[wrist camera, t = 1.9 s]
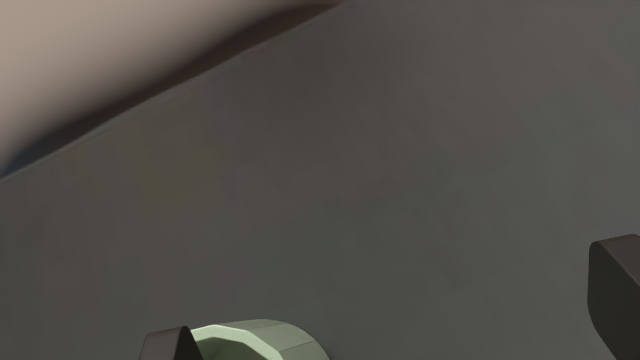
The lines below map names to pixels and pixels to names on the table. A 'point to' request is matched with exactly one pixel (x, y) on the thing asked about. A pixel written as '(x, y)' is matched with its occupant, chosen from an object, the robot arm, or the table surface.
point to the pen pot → (257, 341)
